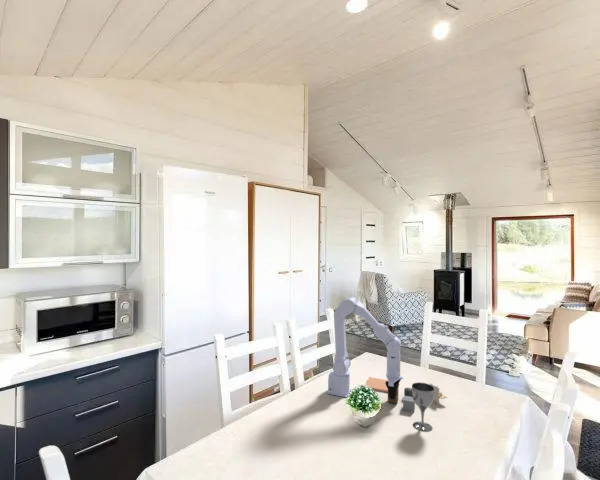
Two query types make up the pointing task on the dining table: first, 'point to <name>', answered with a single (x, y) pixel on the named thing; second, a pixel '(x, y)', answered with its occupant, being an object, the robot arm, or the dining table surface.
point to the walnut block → (395, 397)
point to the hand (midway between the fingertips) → (393, 396)
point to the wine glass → (422, 403)
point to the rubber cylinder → (408, 392)
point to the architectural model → (437, 394)
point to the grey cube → (408, 404)
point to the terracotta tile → (377, 384)
